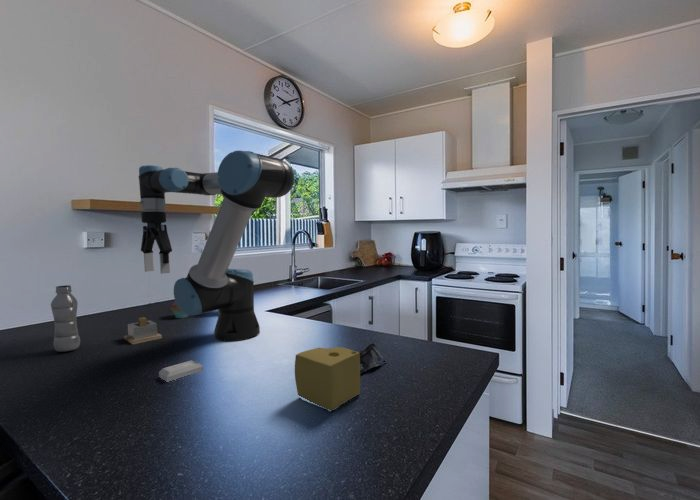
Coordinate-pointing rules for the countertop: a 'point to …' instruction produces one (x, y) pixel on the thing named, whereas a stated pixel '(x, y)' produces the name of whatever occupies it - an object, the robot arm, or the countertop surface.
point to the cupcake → (177, 311)
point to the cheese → (328, 375)
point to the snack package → (370, 357)
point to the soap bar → (180, 370)
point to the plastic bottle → (65, 320)
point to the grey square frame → (142, 330)
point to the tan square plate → (142, 322)
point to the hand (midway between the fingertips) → (157, 272)
